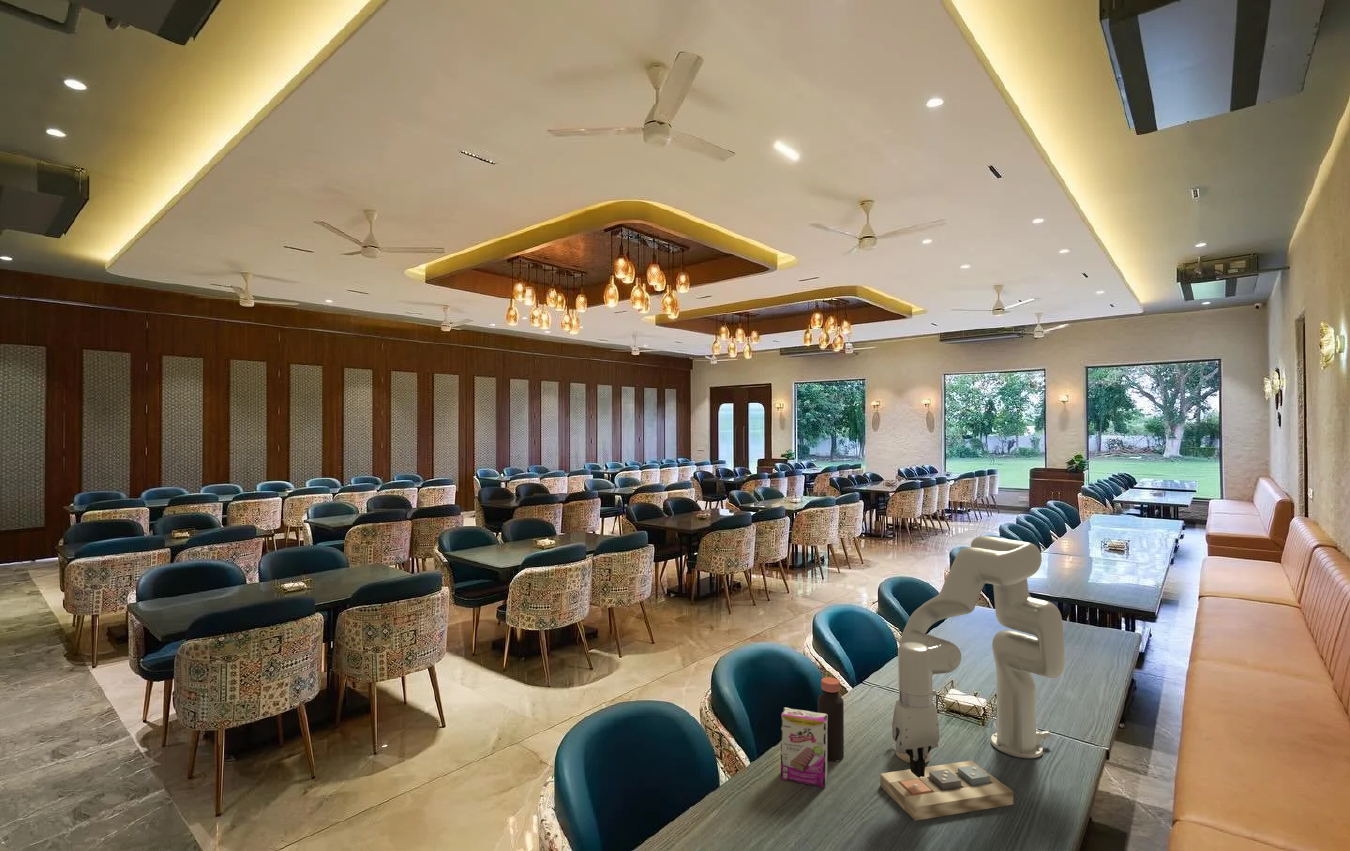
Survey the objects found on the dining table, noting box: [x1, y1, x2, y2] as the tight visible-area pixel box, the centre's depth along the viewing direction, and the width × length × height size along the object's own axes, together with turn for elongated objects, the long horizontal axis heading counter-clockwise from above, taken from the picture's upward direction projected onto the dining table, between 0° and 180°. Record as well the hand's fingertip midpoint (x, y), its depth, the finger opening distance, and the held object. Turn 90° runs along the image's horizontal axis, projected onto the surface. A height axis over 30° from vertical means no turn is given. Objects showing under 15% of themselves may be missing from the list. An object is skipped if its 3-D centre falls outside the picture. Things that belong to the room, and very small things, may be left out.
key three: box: [929, 769, 961, 791], centre depth 147 cm, size 5×5×3 cm
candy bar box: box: [780, 707, 828, 788], centre depth 154 cm, size 11×5×16 cm, turn 71°
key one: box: [900, 779, 932, 796], centre depth 146 cm, size 5×5×3 cm
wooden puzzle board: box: [879, 760, 1014, 822], centre depth 147 cm, size 26×14×3 cm, turn 103°
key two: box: [958, 765, 990, 786], centre depth 149 cm, size 5×5×3 cm
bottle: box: [817, 676, 845, 762], centre depth 166 cm, size 7×7×20 cm
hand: (917, 773), depth 146 cm, fingers closed
